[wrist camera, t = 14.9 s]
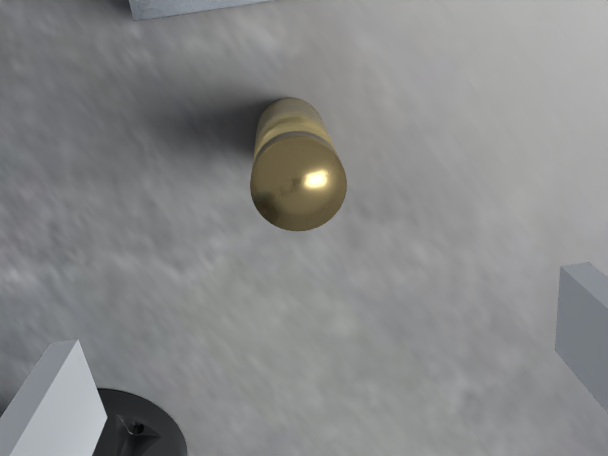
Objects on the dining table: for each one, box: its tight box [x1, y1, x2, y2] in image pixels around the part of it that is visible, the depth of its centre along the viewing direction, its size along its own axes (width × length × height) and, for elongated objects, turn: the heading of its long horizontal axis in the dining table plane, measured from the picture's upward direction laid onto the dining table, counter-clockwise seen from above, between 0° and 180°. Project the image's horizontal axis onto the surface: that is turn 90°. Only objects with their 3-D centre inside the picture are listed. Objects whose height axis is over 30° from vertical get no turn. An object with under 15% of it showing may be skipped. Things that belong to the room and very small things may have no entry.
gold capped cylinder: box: [250, 98, 347, 231], centre depth 33 cm, size 5×5×13 cm
